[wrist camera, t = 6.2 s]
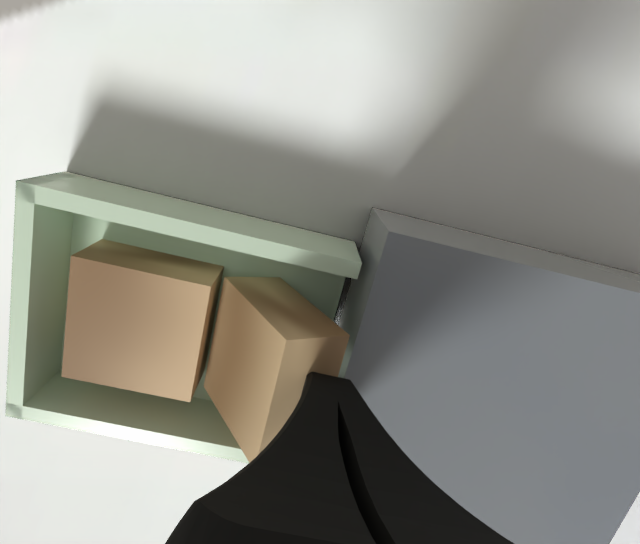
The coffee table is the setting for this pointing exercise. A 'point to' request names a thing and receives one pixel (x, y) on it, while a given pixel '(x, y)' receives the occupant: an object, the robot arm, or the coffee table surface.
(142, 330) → the oak tile
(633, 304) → the grey flat block
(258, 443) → the oak tile
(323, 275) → the tray
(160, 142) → the coffee table surface
